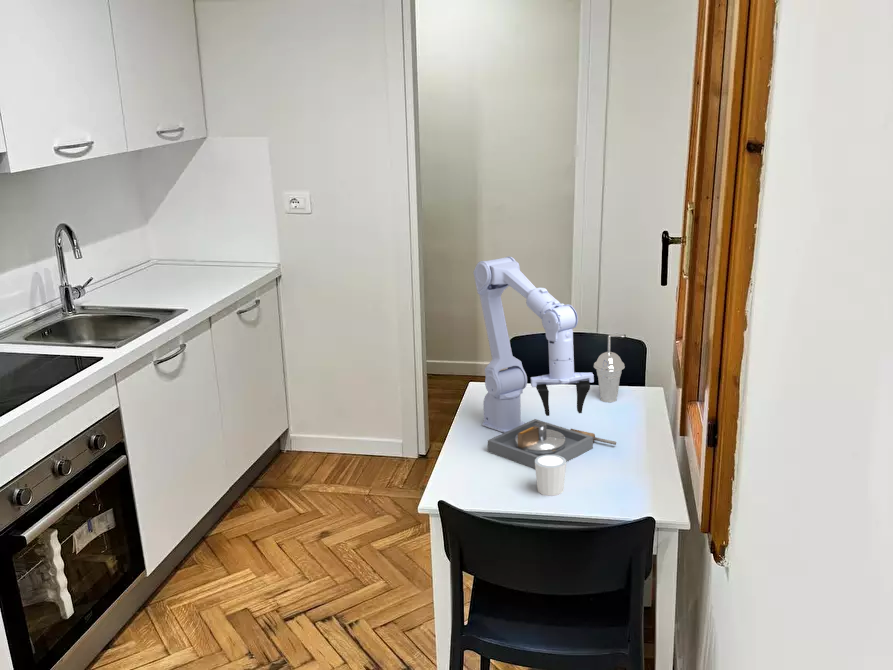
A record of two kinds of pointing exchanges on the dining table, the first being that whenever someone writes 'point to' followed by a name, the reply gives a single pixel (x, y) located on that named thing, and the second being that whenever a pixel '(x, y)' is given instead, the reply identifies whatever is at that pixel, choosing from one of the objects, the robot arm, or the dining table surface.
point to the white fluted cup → (550, 474)
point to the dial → (540, 440)
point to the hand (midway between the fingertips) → (563, 413)
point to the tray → (507, 449)
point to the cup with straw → (609, 373)
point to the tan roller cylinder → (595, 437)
